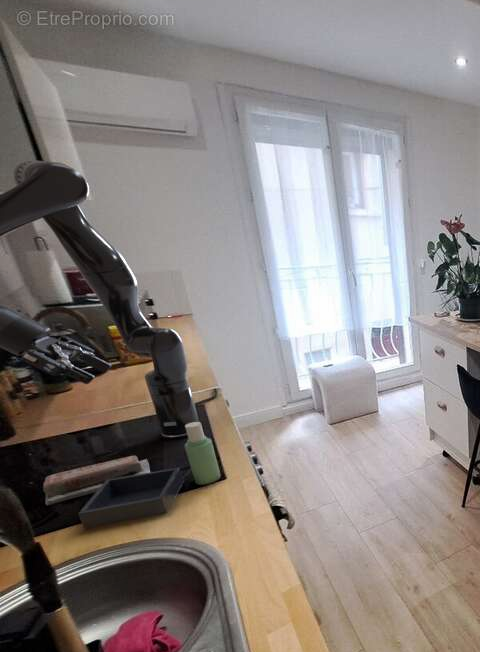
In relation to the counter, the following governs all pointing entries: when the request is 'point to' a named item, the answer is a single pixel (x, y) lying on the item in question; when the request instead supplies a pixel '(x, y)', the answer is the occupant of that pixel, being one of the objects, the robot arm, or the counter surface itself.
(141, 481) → the tray
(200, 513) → the counter surface
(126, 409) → the counter surface
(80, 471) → the packaged product
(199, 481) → the bottle
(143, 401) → the counter surface
